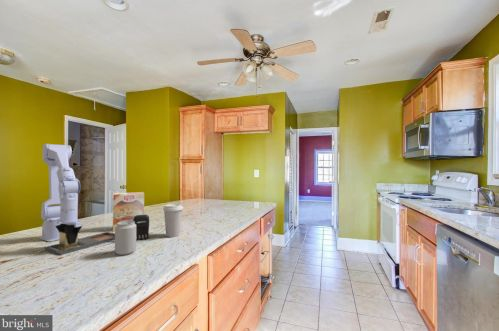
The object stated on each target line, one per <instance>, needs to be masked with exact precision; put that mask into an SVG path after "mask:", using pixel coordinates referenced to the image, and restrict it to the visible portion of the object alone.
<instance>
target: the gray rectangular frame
mask: <svg viewBox="0 0 499 331" xmlns="http://www.w3.org/2000/svg"><path fill="white" fill-rule="evenodd" d="M112 241H115V232H109V231H105V232H101V233H97V234H92V235H89V236H85V237H80V238H78V247H74V248H71V249H67V250H61V249H58V248H59V243H55V244H52V245H47V246H44V250H45V251H47V252H49V253H53V254H55V255H58V256H63V255H66V254H70V253H73V252H77V251H79V250H84V249H87V248H90V247H91V248H92V247H94V246H98V245H102V244H105V243H108V242H112Z"/></svg>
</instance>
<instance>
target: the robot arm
mask: <svg viewBox="0 0 499 331" xmlns="http://www.w3.org/2000/svg"><path fill="white" fill-rule="evenodd" d="M72 151H73V150H72V147H71V145H69V144H67V145H66V144H53V143H52V144H51V143H44V144H43V146H42V150H41V152H42V161H43V163H45V164H47V165H48V166H47V167H48V184H49V185H48V186H49V188H48V189H49V198H48V199H47V200H45V201H44V202H43V203H42V204H41V209H40V210H41V211H40V217H41V220H43V223H42V224H41V228H42V229H41V231H42V232H41V237H39V240H42V241H46V242H54V241H59V233H60V232H62V231H66V233H67V238H68V243H69V244H72V243H75V242H76V238H77V235H78V236H79V232H80V231H81V229H82V228H83V225H82V221H80V220H79V219H78V216H79V214H78V212H79V211H78V210H79V207H78V206H79V194H80V192H81V182H80V180H79V179H78V178H76V176H75V171H74V169H73V168H72V167H70V164H69V161H70V159H71V156H72V154H73V152H72Z"/></svg>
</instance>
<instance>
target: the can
mask: <svg viewBox="0 0 499 331" xmlns="http://www.w3.org/2000/svg"><path fill="white" fill-rule="evenodd" d="M114 234H115V240H114V253H115V254H117V256H128V255H131V254H133V253H135V251H136V250H137V240H136V224H135V222H134V221H122V222H119V223H117V226H116V227H115V231H114Z"/></svg>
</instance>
